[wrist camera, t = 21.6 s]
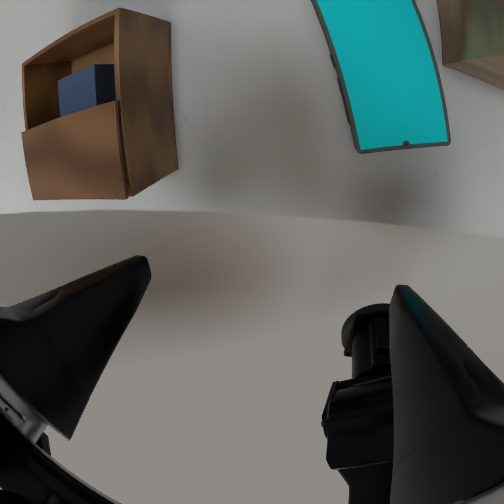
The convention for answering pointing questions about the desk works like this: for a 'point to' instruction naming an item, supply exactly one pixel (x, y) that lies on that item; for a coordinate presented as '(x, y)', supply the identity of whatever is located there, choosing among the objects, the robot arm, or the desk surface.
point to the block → (87, 88)
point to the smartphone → (385, 73)
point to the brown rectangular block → (474, 38)
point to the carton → (126, 86)
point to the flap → (77, 156)
